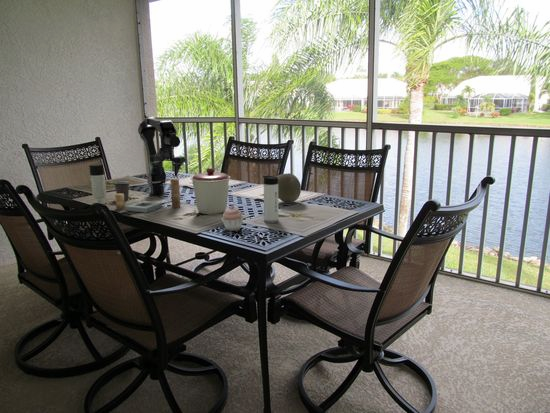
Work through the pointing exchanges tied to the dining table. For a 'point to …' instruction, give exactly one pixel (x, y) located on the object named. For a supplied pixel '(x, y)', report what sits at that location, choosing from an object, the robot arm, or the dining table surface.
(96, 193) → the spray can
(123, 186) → the coffee cup
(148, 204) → the hole plate
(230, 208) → the cupcake
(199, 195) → the canister
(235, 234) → the dining table surface
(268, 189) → the travel mug
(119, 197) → the short pin
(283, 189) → the cantaloupe
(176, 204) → the tall pin
